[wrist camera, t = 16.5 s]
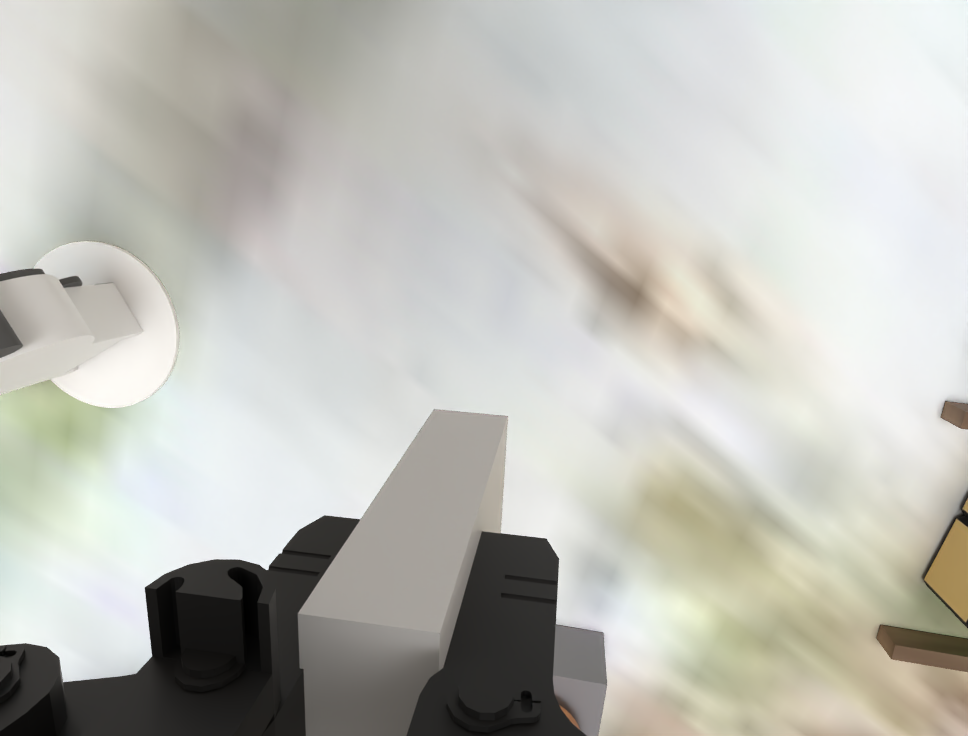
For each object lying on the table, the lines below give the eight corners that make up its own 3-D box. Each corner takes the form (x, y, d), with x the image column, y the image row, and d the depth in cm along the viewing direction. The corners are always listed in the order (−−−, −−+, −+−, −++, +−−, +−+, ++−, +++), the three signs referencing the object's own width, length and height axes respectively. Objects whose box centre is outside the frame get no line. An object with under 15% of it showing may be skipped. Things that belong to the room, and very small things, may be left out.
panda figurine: (126, 204, 41) (-117, 199, 27) (218, 359, 43) (36, 434, 28) (-6, 289, 44) (-291, 326, 29) (85, 431, 45) (-142, 533, 31)
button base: (487, 612, 44) (477, 661, 40) (603, 632, 44) (607, 684, 39) (476, 708, 46) (465, 766, 42) (587, 729, 46) (588, 790, 41)
